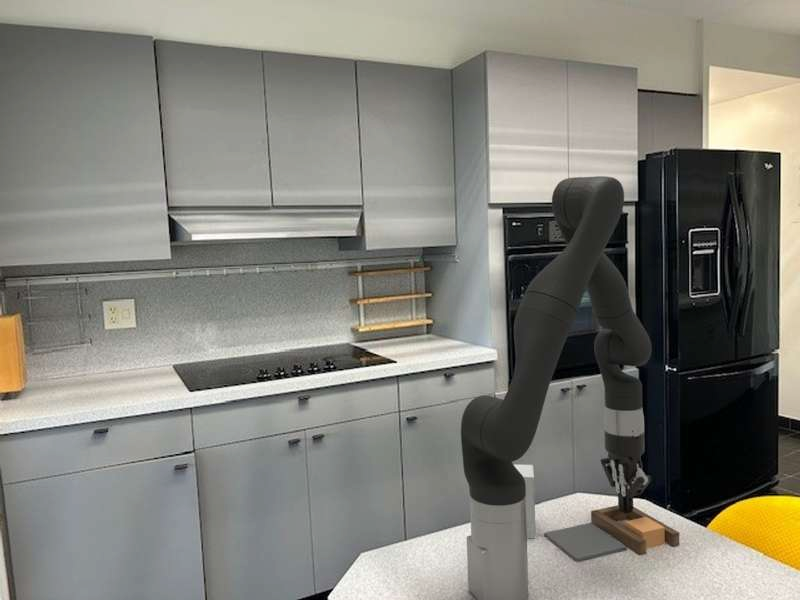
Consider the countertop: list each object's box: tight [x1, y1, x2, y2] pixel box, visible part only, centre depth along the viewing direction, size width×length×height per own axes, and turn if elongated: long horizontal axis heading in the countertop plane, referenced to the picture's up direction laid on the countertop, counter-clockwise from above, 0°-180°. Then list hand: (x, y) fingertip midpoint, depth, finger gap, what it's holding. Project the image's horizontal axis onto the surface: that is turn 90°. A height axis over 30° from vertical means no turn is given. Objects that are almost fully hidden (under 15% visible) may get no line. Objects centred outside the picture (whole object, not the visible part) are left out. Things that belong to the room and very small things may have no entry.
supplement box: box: [513, 463, 536, 539], centre depth 124 cm, size 7×7×13 cm
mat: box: [543, 522, 628, 562], centre depth 118 cm, size 11×11×1 cm
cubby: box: [590, 505, 680, 556], centre depth 121 cm, size 9×14×2 cm, turn 19°
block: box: [624, 517, 666, 550], centre depth 118 cm, size 5×5×4 cm
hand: (625, 511), depth 124 cm, fingers closed
